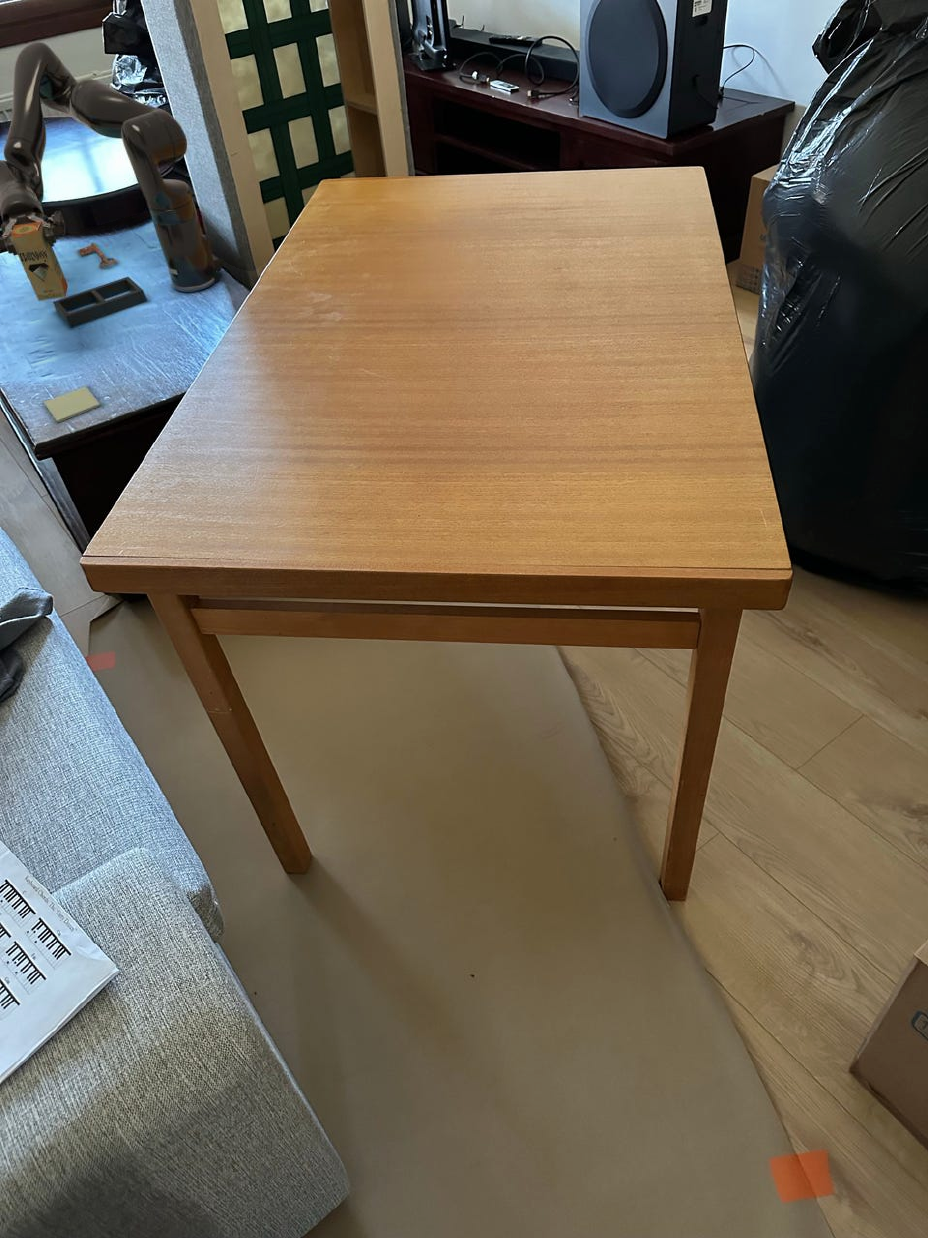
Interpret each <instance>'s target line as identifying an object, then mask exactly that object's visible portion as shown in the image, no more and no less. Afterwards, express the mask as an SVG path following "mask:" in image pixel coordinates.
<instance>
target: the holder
mask: <svg viewBox="0 0 928 1238" xmlns="http://www.w3.org/2000/svg"><path fill="white" fill-rule="evenodd" d="M128 291H130V292H128ZM144 291H145V290H144V289H143V288H141V287H140V286H139V285H138V284H137V283H136V282H135V281H134V280H133V279H132V278H131V277H129V276H126V277H122V278H119V279H116V280H113V281H110V282H107V283H105V284H101V285H98V286H95V287H92V288H90V289H87V290H84V291H81V292H77V293H74V294H72V295H69V296H66V297H62V298H59V299H57V300H54V301H52V305H53V307H54V308H55V311H56V313H57V314H58V315H59V316H60V318H61V319H62V320H63V321H64V322H65V324H66V325H67V326H68V327H69V328H71V329H72V328H74V327H77V326H79V325H83V324H85V323H88V322H91V321H94V320H97V319H99V318H102V317H106V316H108V315H112V314H114V313H118V312H119V311H122V310H126V309H129V308H132V307H134V306H137V305H140V304H143V303H145V302H147V297H146V294H145V292H144ZM126 292H127V293H126ZM123 293H124V294H123ZM120 294H122V295H120ZM117 295H118V296H117ZM113 296H116V297H113ZM110 297H113V298H110ZM108 298H110V299H108ZM106 299H107V300H106ZM93 303H95V304H93ZM90 304H91V305H90ZM87 305H89V306H87ZM84 306H87V307H84ZM81 307H83V308H81ZM78 308H81V309H78ZM75 309H77V310H75ZM73 310H75V311H73ZM70 311H72V312H70Z"/></svg>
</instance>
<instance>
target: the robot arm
mask: <svg viewBox="0 0 928 1238" xmlns="http://www.w3.org/2000/svg"><path fill="white" fill-rule="evenodd" d="M14 63H15V64H14V71H13V72H14V73H13V95H12V113H11V121H10V125H9V129H8V133H7V136H6V139H5V143H4V147H3V158H4V160H3V159H0V216H1V222H2V224H1V225H0V252H1V251H4V250H5V248H6V251H7V253H8V254H10V255H11V254H12V255H13V256H14V257H15V256H18V254H17V252H16V249H15V247H14V245H13V243H12V241H11V239H10V234H11V232H12V229H13V226H15V225H22V224H29V223H36V222H42V224H43V226H44V228H43V229H44V232H45V235H46V238H47V240H48V242H49V245H50V247H52V248H53V247H55V244H57V242H58V240H57V238H56V237H57V236H58V237H61V238H62V237H65V236H66V230H67V229H66V227H67V224H66V222H65V219H64V217H63V214H62V212H61V211H60V210H56V211H54V212H53V214H51V216H49V217H48V216H47V215H46V214H45V212H44V210H43V206H42V203H43V201H44V195H45V194H44V191H45V190H44V189H45V188H44V181H43V172H42V163H43V159H44V155H45V151H46V146H47V129H46V128H47V127H46V123H45V119H44V118H45V117H44V114H43V109H42V105H44V106H45V107H46V108H48V109H50V110H53V111H54V112H58V113H61V114H64V115H66V116H69V117H71V118H72V119H74V120H75V121H77V122H78V123H80V124H82V125H83V126H84V127H86V128H88V129H90V130H91V131H93V132H95V133H96V134H98V135H100V136H103V137H106V138H111V139H117V140H119V139H120V140H121V141H122V144H123V147H124V150H125V153H126V155H127V158H128V160H129V163H130V165H131V168H132V170H133V173H134V176H135V179H136V181H137V184H138V187H139V189H140V191H141V194H142V195H143V197H144V200H145V202H146V205H147V208H148V209H147V210H148V212H149V214H150V218H151V221H152V224H153V227H154V230H155V234H156V236H157V239H158V242H159V245H160V248H161V251H162V254H163V257H164V260H165V263H166V266H167V270H168V273H169V276H170V279H171V283H172V286H173V289H174V290H176V291H178V292H180V293H181V292H182V293H194V292H199V291H203V290H206V289H208V288H209V287H212V286H213V285H214V284H215V283H216V282H219V281H220V278H219V274H218V273H220V272H221V270H222V268H223V265H222V264H223V263H222V262H221V261H220V260H219V258H218V257H217V256H215V255H214V254H213V253H212V250H211V247H210V243H209V239H208V237H207V236H206V235H205V234H204V233H203V229H202V227H201V222H200V219H199V216H198V213H197V210H196V209H197V208H196V205H195V202H194V198H193V194H192V191H191V188H190V185H188V183H187V182H185V181H183V180H180V179H172V178H171V179H170V178H163V177H162V175H161V172H160V170H159V169H161V168H163V167H166V166H169V165H172V164H175V163H177V162H178V161H180V160H181V159H183V157H185V155H186V153H187V149H188V141H187V136H186V133H185V131H184V130H183V128H182V126H181V125H180V123H179V122H178V121H177V119H176V118H175V117H174V116H173V115H171V113H169V112H167V111H166V110H164V109H161V108H158V107H155V106H152V105H149V104H146V103H142V102H140V101H137V100H136V99H134V98H132V97H130V96H127V95H126V94H123V93H121V92H120V91H117V90H116V89H114V88H113V87H111V86H109V85H107V84H105V83H104V82H102V81H99V80H97V79H93V78H84V79H81V80H79V81H78V80H77V79H76V78H75V76H73V74H72V73H71V72H70V70H69V69H68V68H67V67H66V66H65V64H64V63H63V61H62V60H61V59H60V57H59V56H58V55H57V54H56V53H55V51H54V50H53V49H52V48H51V47H50V46H49V45H48V44H46V43H45V42H41V41H35V42H31V43H29V44H27V45H26V46H24V47H23V48H22V49H21V51H20V52H19V54H18V55H17V57H16V60H15V62H14Z"/></svg>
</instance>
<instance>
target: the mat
mask: <svg viewBox="0 0 928 1238" xmlns="http://www.w3.org/2000/svg"><path fill="white" fill-rule="evenodd" d="M43 404H44V406H45V407H46V409H47V410H48V411H49V413H50V414H51V415H52V417H53V419H54V420H55V421H56V423H61V422H63V421H66V420H68V419H71V418H73V417H76V416H79V415H82V414H84V413H87V412H89V411H92V410H94V409H96V408H99V407H101V403H100V402H99V401H98V400H97V398H95V396H94V395H93V393H92V392H91V391H90V390H89V389H88V387H87V386H82V387H79V388H76V389H75V390H72V391H70V392H67V393H64V394H62V395H59V396H56V397H54V398H51V399H47V400H45V401H43Z"/></svg>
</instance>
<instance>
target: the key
mask: <svg viewBox="0 0 928 1238" xmlns="http://www.w3.org/2000/svg"><path fill="white" fill-rule="evenodd" d="M77 252H78V253H79V255H80V256H82V257H83V256H86V255H88V254H91V253H93V252H95V253H97V255H98V256H99V257H100V259H102V260H101V261H100V262H99V264H98V265H99V267H101V268H107V267H110V266H112V265H114V264H115V263H116V258H113V257H108V258H107V257H106V255H104V254H103V252H102V251H101V250H100V248H98V246H97V245H96V244H95V243H94V242H91V243H90V245H88V246H85V247H83V248H80V249H77Z"/></svg>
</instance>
